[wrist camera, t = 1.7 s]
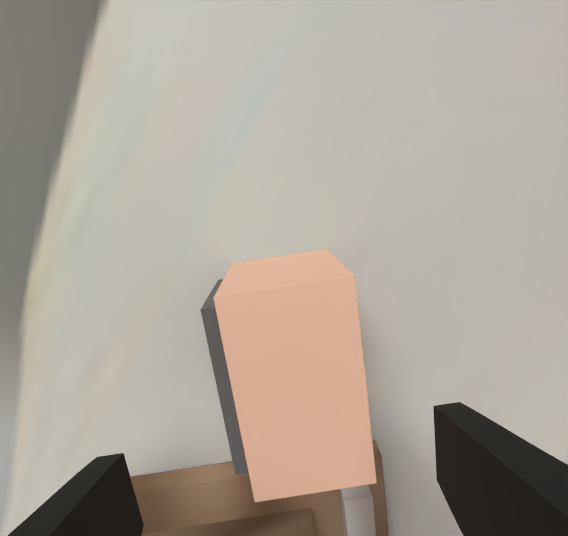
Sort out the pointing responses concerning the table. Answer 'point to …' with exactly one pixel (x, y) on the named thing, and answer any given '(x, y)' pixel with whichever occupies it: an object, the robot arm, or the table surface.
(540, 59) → the table surface
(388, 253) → the table surface
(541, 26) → the table surface
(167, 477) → the walnut rack
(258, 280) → the peach rectangular block
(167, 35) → the table surface
